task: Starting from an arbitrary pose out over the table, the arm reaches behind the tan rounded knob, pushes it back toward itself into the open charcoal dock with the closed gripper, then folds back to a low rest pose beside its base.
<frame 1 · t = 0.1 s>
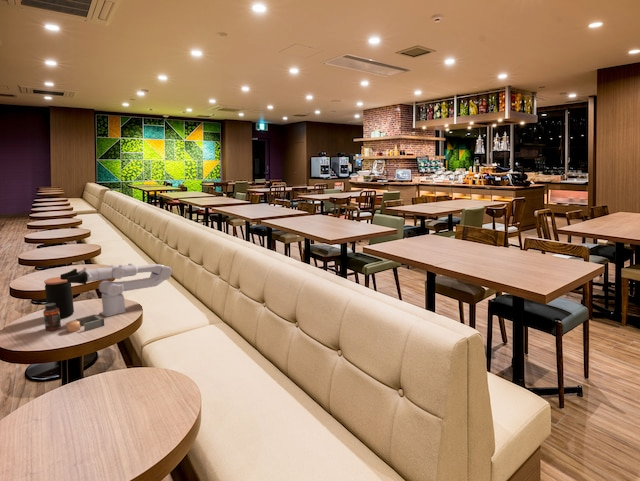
hand: (64, 278, 187), 22 cm above the table, tool horizontal, fingers open, 7 cm apart
tan rounded knob: (73, 330, 185), on the table
dock: (88, 326, 189), on the table
coffee jar: (61, 315, 202), on the table
supplement bottle: (53, 329, 186), on the table
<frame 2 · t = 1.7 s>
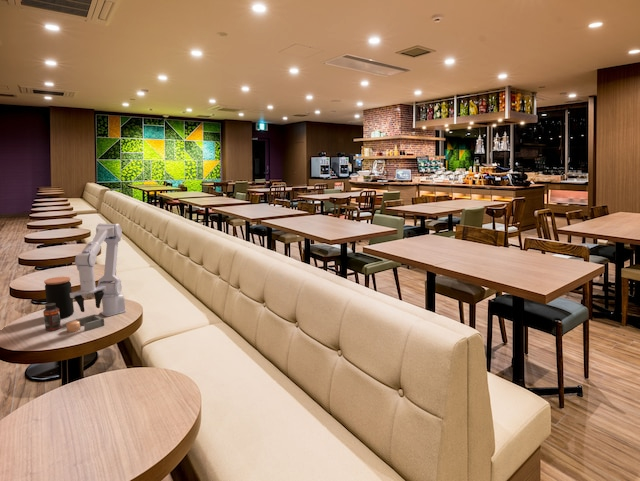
hand: (90, 309, 186), 8 cm above the table, tool pointing down, fingers open, 6 cm apart
nothing on the table moved.
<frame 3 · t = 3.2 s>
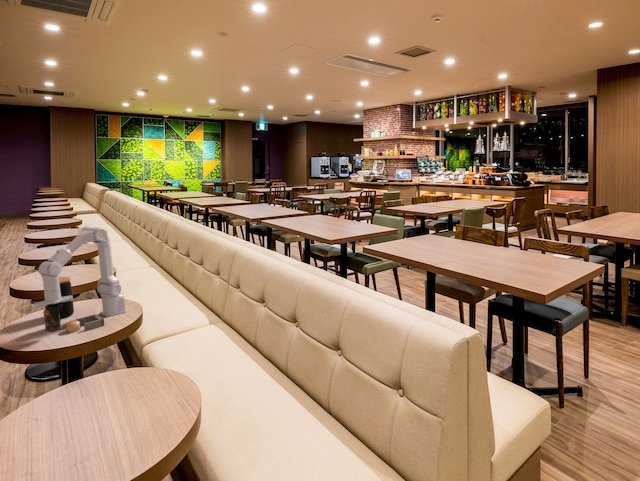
hand: (55, 320, 179), 6 cm above the table, tool pointing down, fingers closed
nothing on the table moved.
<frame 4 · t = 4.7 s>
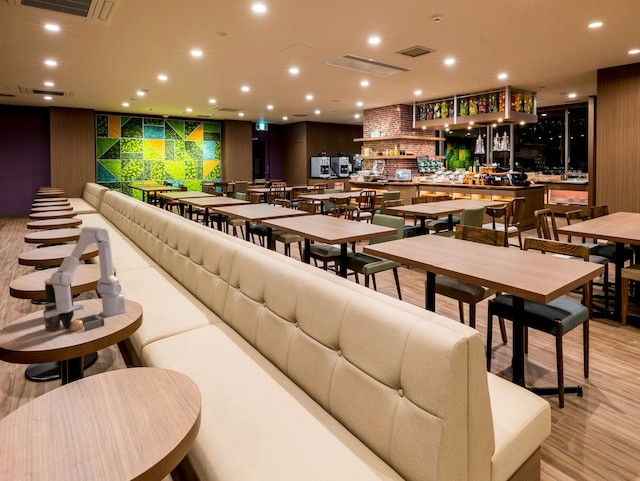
hand: (67, 328, 182), 1 cm above the table, tool pointing down, fingers closed
tan rounded knob: (76, 329, 186), on the table, touching gripper
everything else where it was.
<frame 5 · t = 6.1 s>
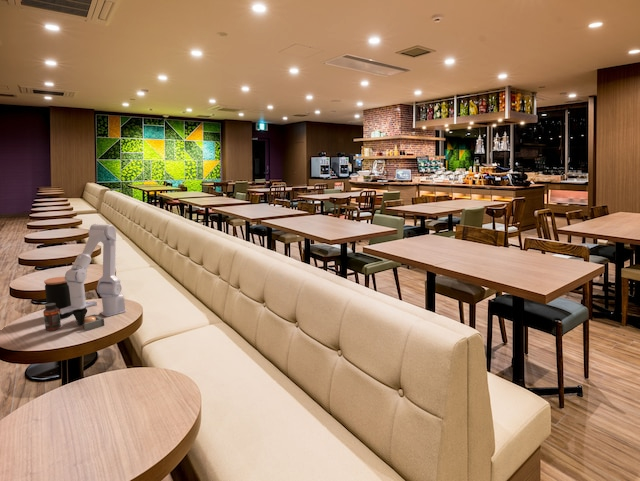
hand: (80, 325, 187), 1 cm above the table, tool pointing down, fingers closed
tan rounded knob: (89, 325, 190), on the table, touching gripper
everything else where it was.
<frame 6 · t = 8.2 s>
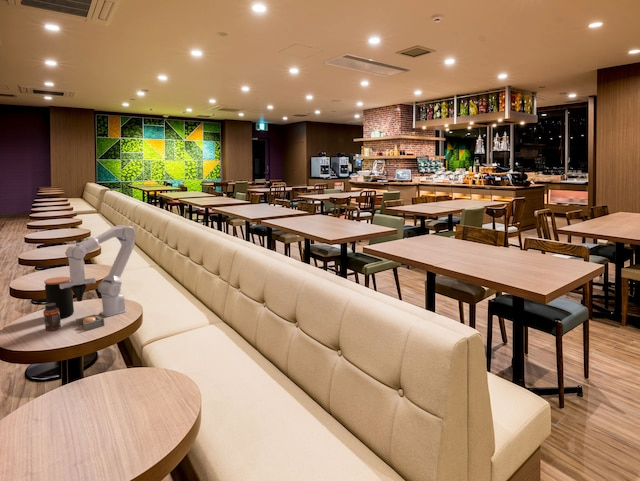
hand: (79, 300, 192), 10 cm above the table, tool pointing down, fingers closed
tan rounded knob: (89, 326, 190), on the table
everything else where it was.
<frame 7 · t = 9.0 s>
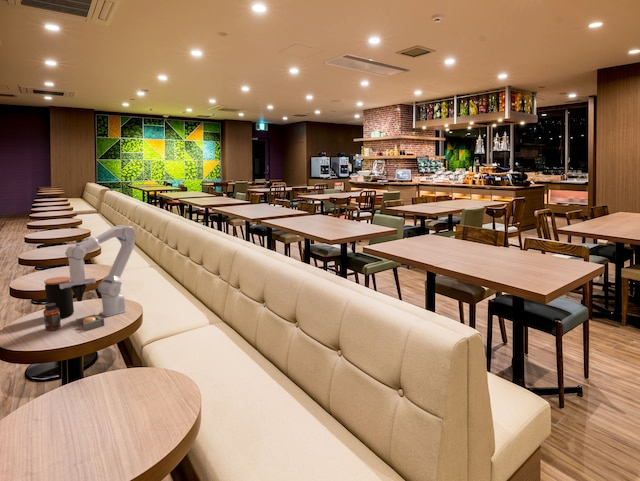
hand: (79, 300, 192), 10 cm above the table, tool pointing down, fingers closed
nothing on the table moved.
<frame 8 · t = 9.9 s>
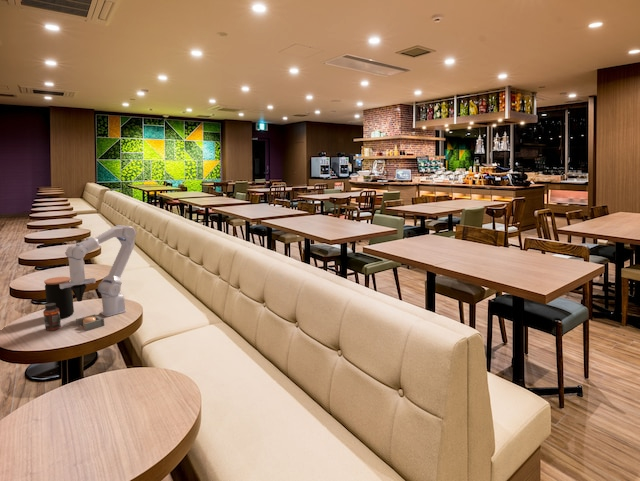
hand: (79, 300, 192), 10 cm above the table, tool pointing down, fingers closed
nothing on the table moved.
at the end: tan rounded knob inside the target area on the dock (0.5 cm from its centre), point 0.0 cm above the dock's base; tan rounded knob tilted 0° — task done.
